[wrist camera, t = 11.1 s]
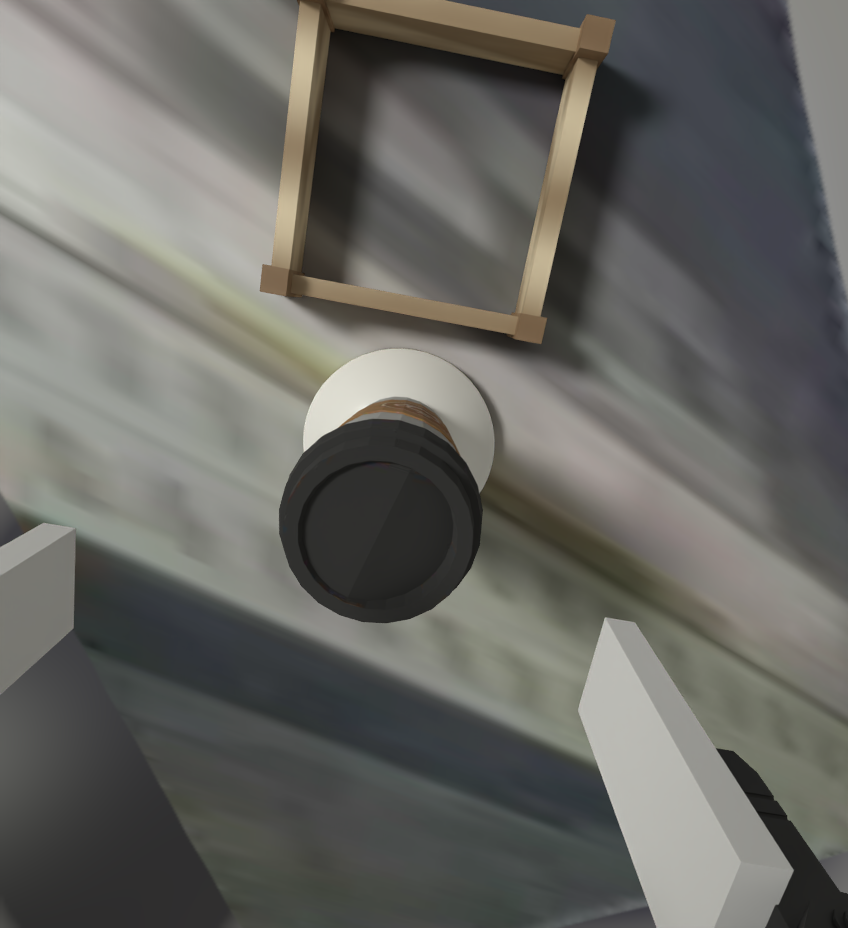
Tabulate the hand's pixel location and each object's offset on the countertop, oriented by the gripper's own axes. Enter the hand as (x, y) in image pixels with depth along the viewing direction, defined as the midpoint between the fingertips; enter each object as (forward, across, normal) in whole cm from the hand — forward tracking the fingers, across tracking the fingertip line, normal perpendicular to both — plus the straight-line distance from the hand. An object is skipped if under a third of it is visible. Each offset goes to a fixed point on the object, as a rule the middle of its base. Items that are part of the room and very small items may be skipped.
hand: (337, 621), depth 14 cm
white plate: (+24, 0, -1) cm, 24 cm away
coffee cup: (+23, 0, -1) cm, 23 cm away
